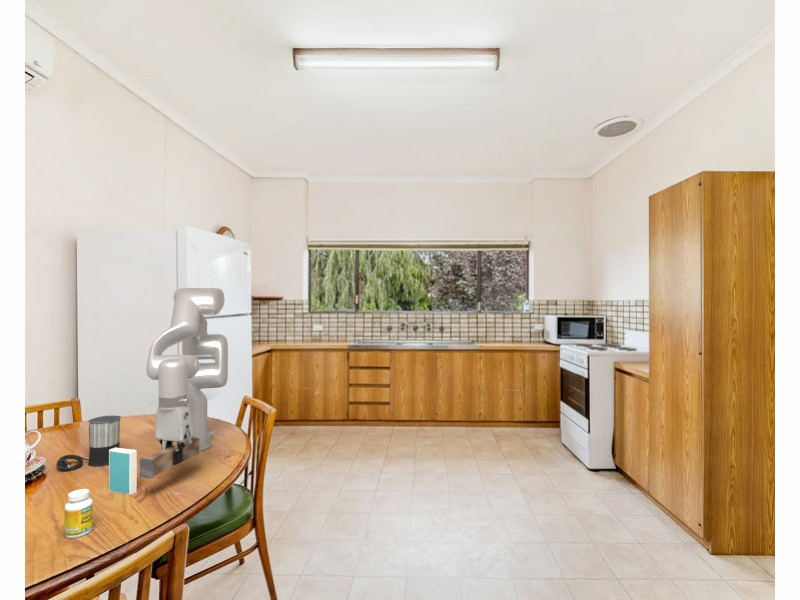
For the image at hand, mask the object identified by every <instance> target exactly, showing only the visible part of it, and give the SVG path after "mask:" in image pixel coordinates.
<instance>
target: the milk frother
mask: <svg viewBox="0 0 800 600" xmlns="http://www.w3.org/2000/svg"><path fill="white" fill-rule="evenodd" d="M121 418H122V416H121V415H113V414H112V415H111V414H109V415H101V416H97V417H93V418H90V419H88V423H89V425H88V439H89V440H88V442H89V451H88V452H89V455H88V459H87V458H85V457H83V456H80V455H76V454H65V455H63V456H61V457H60V458H58V460H57V461H56V464H55V465H56V467H57V469H59V470H62V471H71V470H72V471H73V470H75V469H79V468H81V467H82V465H83V463H84V461H88V462H87V465H88V466H90V467H102V466H109V450H110V449H113V448H120V443H121V441H120V439H121V437H120V436H121V430H120V429H121ZM68 460H76V461H77V462H78V463H77V464H75V465H72V462H71V461H68ZM83 460H84V461H83Z"/></svg>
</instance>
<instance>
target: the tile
mask: <svg viewBox="0 0 800 600" xmlns="http://www.w3.org/2000/svg"><path fill="white" fill-rule="evenodd" d="M137 456H138V450H137V449H130V448H129V449H128V448H123V447H122V448H121V447H119V448H113V449H110V450H109V464H108V492H111V493H117V494H123V495H133V494H135V493H137V490H138V489H137V485H138V484H137V483H138V482H137V481H138V478H137V477H138V476H137V473H138V472H137V471H138V469H137V468H138V460H137V459H138V457H137Z"/></svg>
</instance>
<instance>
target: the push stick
mask: <svg viewBox="0 0 800 600" xmlns="http://www.w3.org/2000/svg"><path fill="white" fill-rule="evenodd" d="M191 439H192V443H190V444H188V445H186V446H185V448H184V449H183V461H182V462H181V463H183V462H186V461H187V460H190V459H191V458H193V457H195V456H198V455H200V451H199V438H195V437H193V438H191ZM179 444H180V443H179ZM173 452H174V445H173V446H172V447H169V448H167V449H164V450H163V449H161V450H160V451H158V452H156V453H153V454H150V455H148V456H146V457H141V458H139V477H140V478H144V479H153V478H154V476H156V475H159V474H160V473H162V472H165V471H167V470H169V469H171V468H172V467H173V468H174V467H175V466H176V465H173Z"/></svg>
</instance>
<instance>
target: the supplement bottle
mask: <svg viewBox="0 0 800 600" xmlns="http://www.w3.org/2000/svg"><path fill="white" fill-rule="evenodd" d="M67 500H68V502H67V503H66V504H65V506H64V536H65V538H68V539H76V538H81V537H83V536H85V535H87V534H89V533H91V531H92V530H93V528H94V527H93V526H94V525H93V524H94V521H93V519H94V516H93V513H94V511H93V509H94V508H93V505H94V504H93V502H94V501H93V498H91V497H90V489H88V488H82V489H76V490H73V491H71V492H69V493H68V494H67Z"/></svg>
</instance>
